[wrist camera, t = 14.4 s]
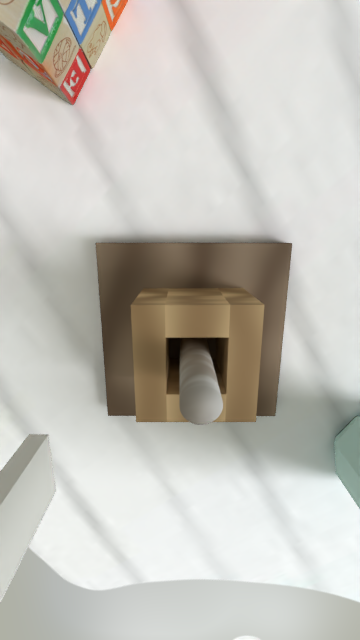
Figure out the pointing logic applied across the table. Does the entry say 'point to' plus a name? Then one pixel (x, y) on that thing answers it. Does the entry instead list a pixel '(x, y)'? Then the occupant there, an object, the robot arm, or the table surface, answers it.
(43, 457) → the robot arm
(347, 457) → the water bottle
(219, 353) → the bead
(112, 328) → the board
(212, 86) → the table surface
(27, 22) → the stack of blocks
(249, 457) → the table surface
